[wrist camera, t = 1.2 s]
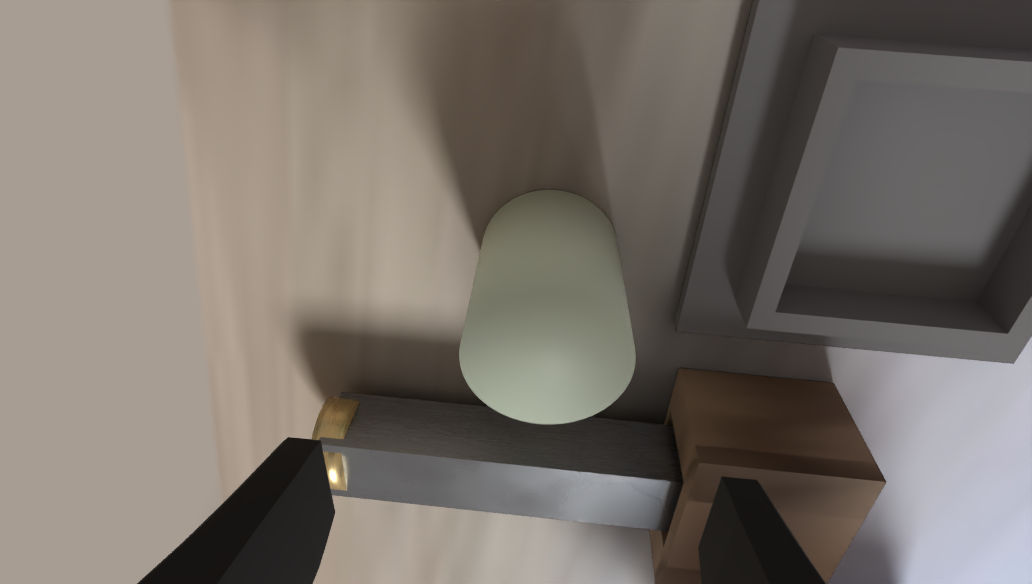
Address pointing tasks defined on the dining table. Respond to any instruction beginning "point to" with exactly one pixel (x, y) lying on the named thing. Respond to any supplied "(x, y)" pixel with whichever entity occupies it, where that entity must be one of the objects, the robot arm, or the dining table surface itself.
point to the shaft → (500, 461)
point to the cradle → (873, 181)
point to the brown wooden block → (766, 464)
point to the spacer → (548, 312)
